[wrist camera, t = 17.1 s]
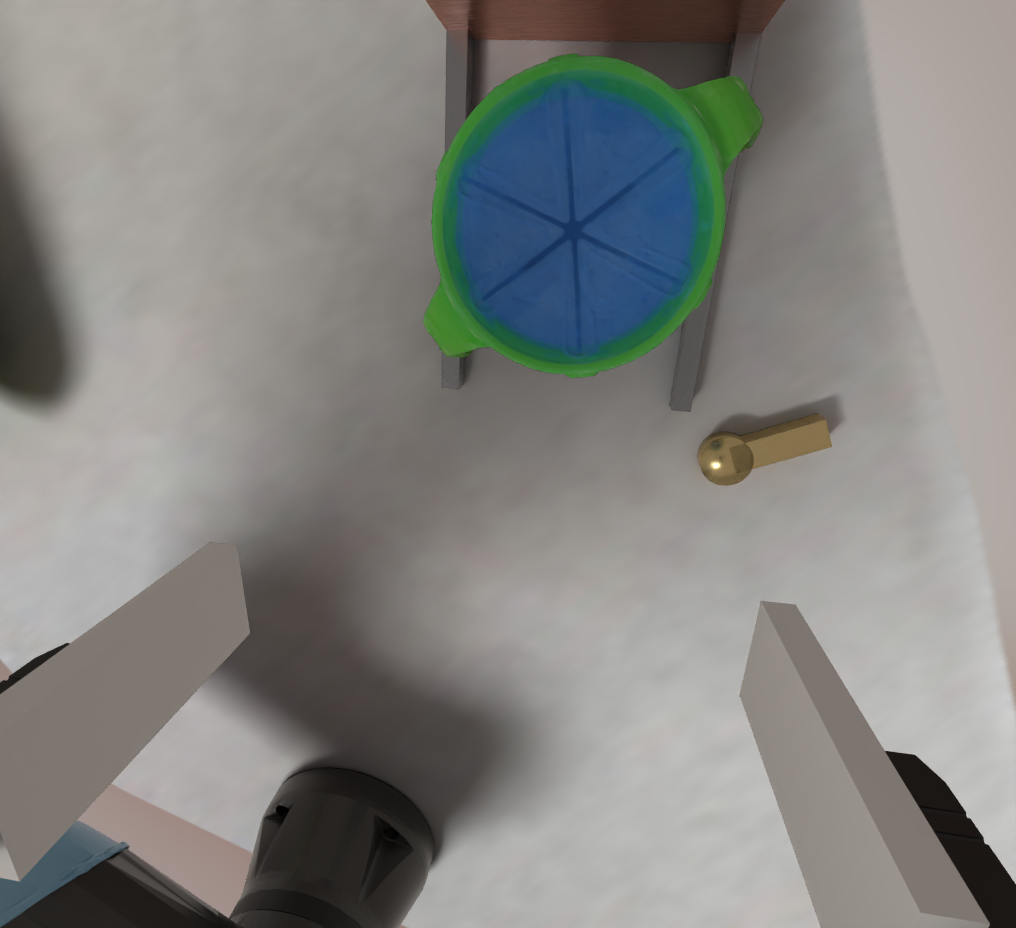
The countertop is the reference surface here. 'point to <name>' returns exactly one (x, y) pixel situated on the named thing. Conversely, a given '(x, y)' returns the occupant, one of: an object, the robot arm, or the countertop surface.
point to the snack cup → (583, 213)
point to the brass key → (760, 448)
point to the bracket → (603, 17)
